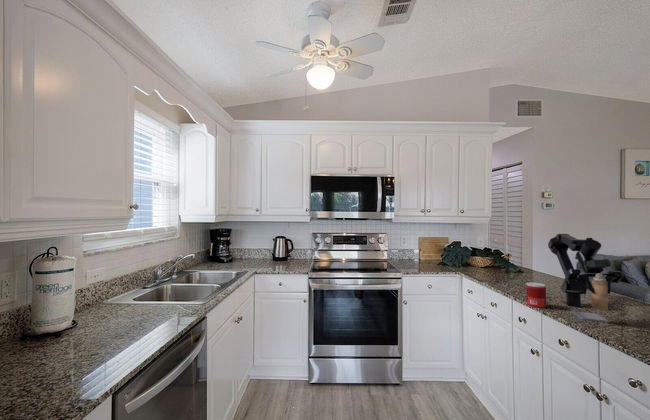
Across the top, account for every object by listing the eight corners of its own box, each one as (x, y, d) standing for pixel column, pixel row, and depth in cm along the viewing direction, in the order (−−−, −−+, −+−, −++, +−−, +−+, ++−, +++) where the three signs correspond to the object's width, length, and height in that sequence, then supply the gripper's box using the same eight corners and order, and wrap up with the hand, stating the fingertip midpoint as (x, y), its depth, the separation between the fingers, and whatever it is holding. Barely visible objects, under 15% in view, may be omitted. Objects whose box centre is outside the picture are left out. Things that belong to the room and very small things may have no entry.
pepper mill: (589, 305, 125) (589, 271, 124) (604, 307, 123) (604, 272, 122) (594, 309, 120) (594, 274, 120) (610, 311, 118) (610, 275, 118)
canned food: (549, 308, 138) (549, 286, 138) (531, 307, 140) (530, 285, 140) (540, 303, 146) (540, 282, 146) (523, 302, 147) (523, 282, 147)
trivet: (572, 313, 132) (572, 311, 132) (597, 315, 129) (597, 313, 129) (582, 319, 124) (582, 318, 124) (608, 322, 120) (608, 320, 120)
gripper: (568, 251, 128) (581, 281, 118) (621, 252, 122) (639, 285, 111) (560, 264, 135) (572, 294, 125) (609, 266, 129) (626, 298, 119)
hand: (601, 293), depth 120 cm, fingers closed on pepper mill, 5 cm apart
